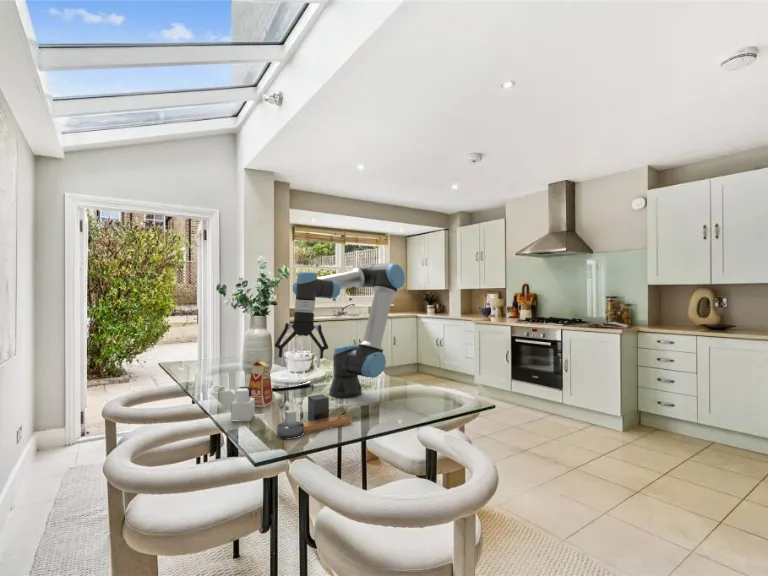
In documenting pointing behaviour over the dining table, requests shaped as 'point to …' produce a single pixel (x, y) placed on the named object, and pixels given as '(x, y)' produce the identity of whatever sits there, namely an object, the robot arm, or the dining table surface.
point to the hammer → (308, 424)
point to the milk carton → (261, 384)
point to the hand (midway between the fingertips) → (300, 366)
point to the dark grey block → (318, 407)
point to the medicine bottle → (242, 405)
